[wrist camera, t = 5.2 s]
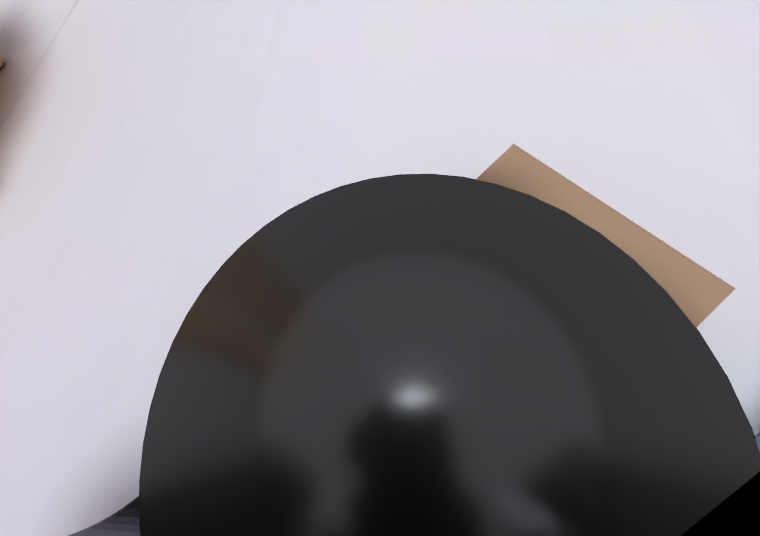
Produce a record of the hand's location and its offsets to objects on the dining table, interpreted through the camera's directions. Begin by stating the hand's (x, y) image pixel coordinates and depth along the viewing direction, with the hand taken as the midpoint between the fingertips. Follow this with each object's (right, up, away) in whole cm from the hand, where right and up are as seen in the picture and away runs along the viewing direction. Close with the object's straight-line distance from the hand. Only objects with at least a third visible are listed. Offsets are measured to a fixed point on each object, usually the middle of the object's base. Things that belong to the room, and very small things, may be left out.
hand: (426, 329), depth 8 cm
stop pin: (+2, -3, +6) cm, 7 cm away
